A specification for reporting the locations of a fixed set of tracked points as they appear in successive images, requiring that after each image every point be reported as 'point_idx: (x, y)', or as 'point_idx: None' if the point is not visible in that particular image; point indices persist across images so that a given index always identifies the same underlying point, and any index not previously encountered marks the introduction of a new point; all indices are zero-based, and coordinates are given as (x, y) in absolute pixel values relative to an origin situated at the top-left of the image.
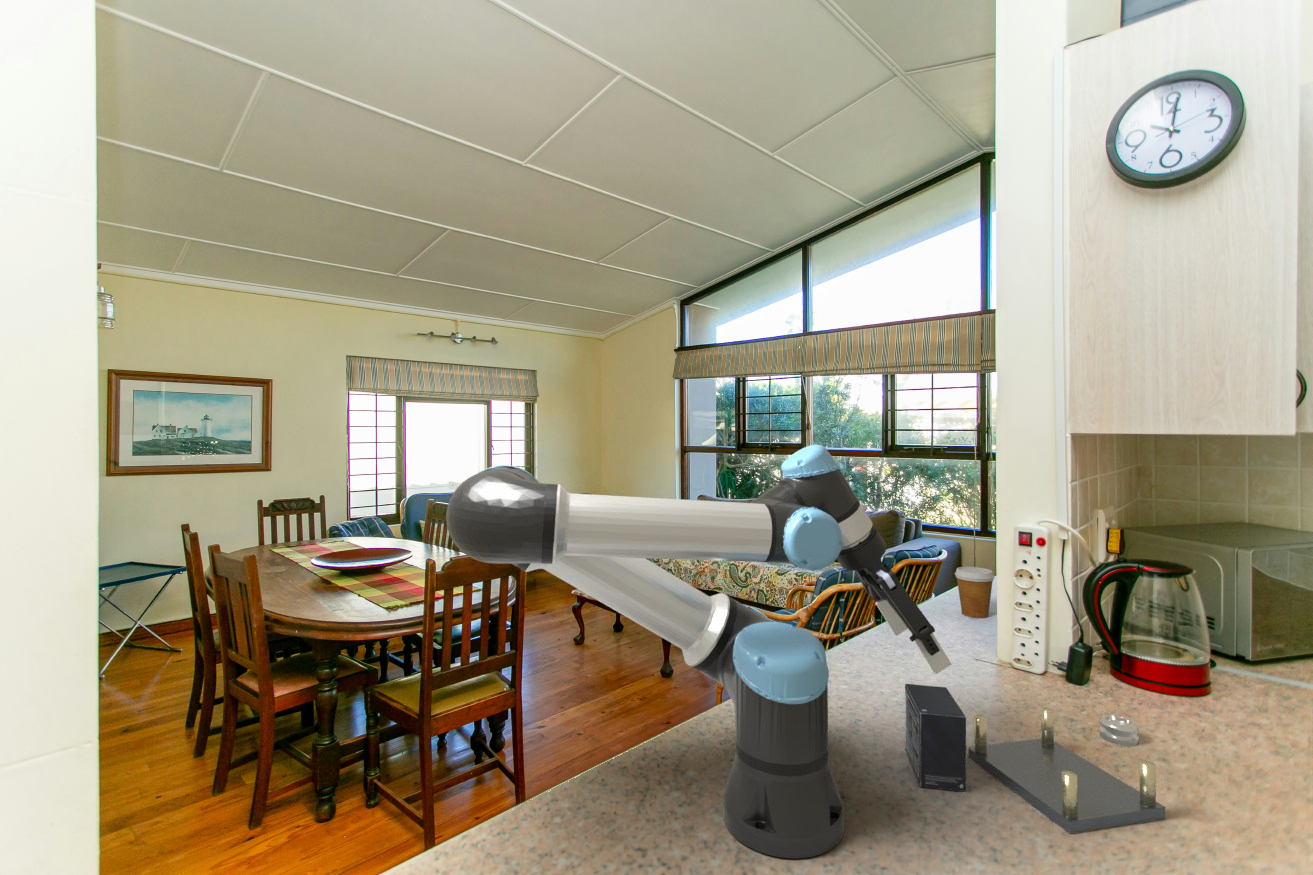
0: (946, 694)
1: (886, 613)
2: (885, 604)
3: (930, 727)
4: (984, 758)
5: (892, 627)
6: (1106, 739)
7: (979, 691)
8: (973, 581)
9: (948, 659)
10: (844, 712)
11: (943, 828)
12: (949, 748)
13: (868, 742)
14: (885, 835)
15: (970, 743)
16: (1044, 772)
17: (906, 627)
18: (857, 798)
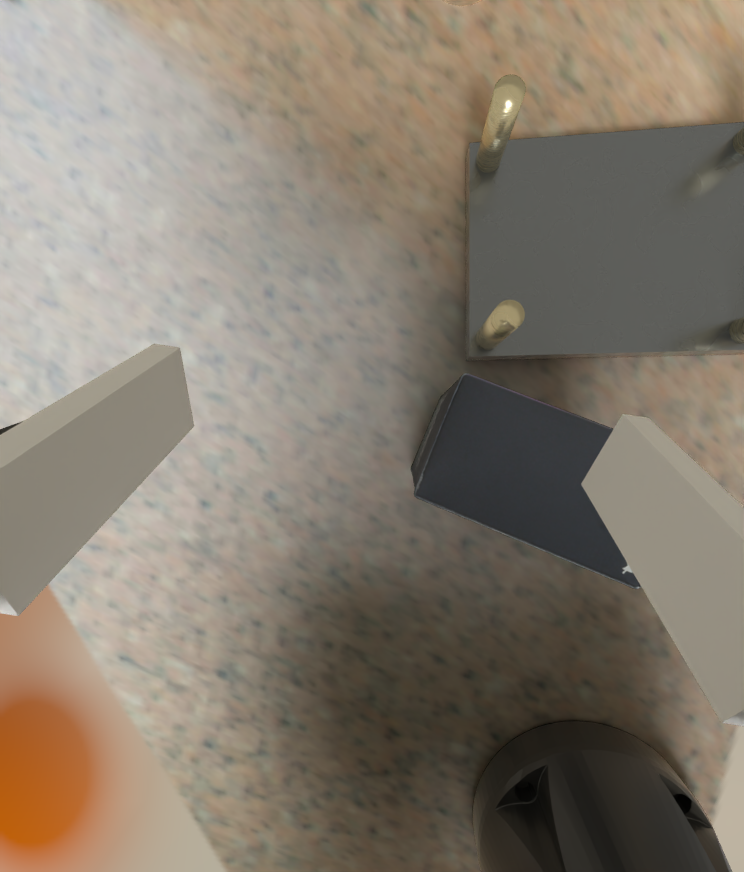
0: (525, 413)
1: (98, 506)
2: (31, 535)
3: None
4: (518, 352)
5: (165, 449)
6: (469, 3)
7: (191, 124)
8: None
9: (667, 437)
10: (229, 509)
11: None
12: None
13: (365, 529)
14: (666, 674)
15: (415, 317)
16: (598, 265)
17: (178, 369)
18: (551, 661)
